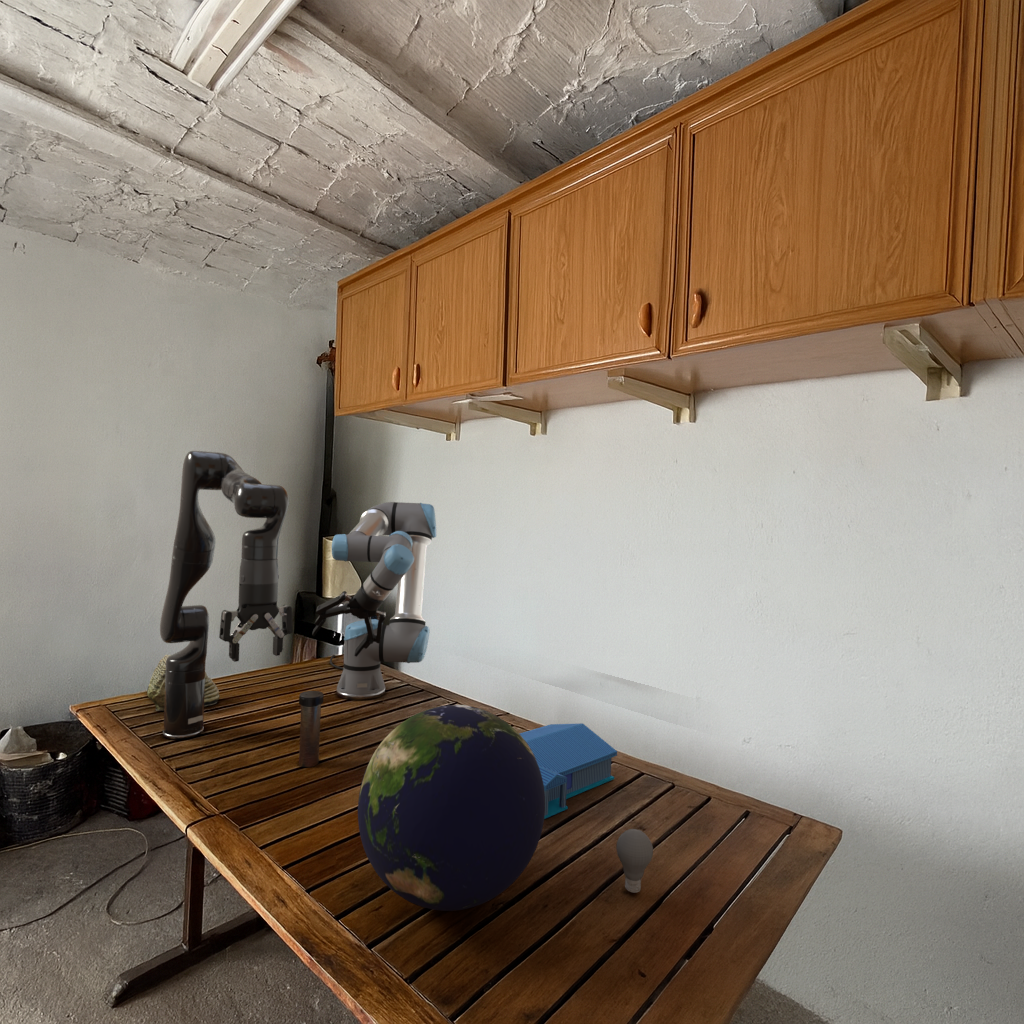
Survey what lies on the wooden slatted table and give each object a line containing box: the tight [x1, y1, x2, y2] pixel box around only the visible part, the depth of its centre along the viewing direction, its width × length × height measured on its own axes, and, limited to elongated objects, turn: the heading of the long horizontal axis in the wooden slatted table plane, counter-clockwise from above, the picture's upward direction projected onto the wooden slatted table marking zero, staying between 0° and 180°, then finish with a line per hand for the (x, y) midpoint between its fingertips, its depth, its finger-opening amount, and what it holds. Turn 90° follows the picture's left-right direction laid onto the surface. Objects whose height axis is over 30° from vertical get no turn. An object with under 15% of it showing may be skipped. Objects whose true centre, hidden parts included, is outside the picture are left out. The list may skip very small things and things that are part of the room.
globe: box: [357, 704, 545, 912], centre depth 102 cm, size 30×30×30 cm
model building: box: [519, 722, 618, 820], centre depth 142 cm, size 39×24×10 cm, turn 132°
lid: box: [298, 690, 324, 707], centre depth 150 cm, size 6×6×2 cm
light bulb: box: [615, 828, 654, 894], centre depth 106 cm, size 6×6×10 cm
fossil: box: [146, 654, 221, 712], centre depth 185 cm, size 9×18×15 cm, turn 132°
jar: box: [298, 704, 322, 768], centre depth 150 cm, size 4×4×16 cm
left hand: (256, 657), depth 132 cm, fingers open, 8 cm apart
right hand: (335, 643), depth 182 cm, fingers open, 13 cm apart
